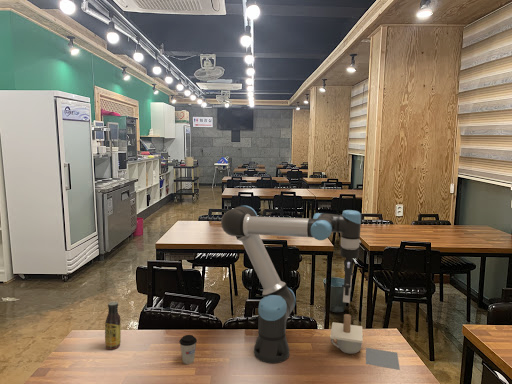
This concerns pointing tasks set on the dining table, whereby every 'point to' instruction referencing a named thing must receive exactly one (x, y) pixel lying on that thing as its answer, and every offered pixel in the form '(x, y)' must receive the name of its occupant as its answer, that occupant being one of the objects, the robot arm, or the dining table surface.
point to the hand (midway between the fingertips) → (347, 295)
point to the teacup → (348, 346)
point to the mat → (382, 358)
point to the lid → (346, 331)
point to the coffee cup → (188, 348)
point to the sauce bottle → (112, 327)
